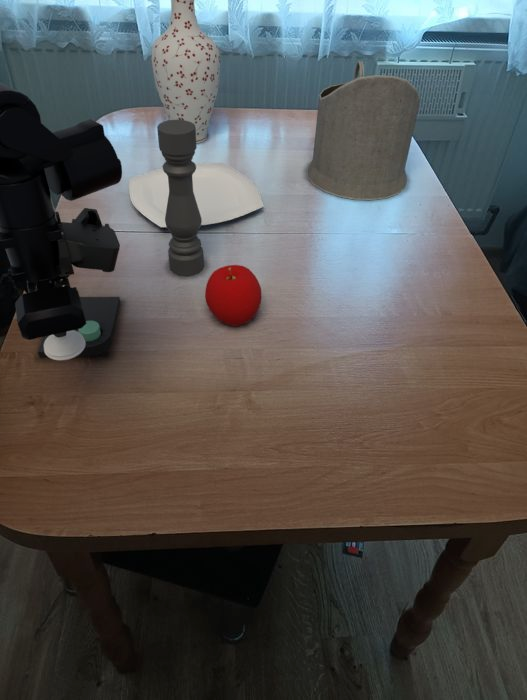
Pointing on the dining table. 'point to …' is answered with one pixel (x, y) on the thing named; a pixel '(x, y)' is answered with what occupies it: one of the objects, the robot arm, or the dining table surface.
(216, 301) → the fruit
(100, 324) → the black button base
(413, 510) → the dining table surface
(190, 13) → the vase
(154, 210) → the plate
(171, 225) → the candle holder
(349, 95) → the pitcher
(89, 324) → the button
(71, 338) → the chess piece
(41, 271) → the robot arm
